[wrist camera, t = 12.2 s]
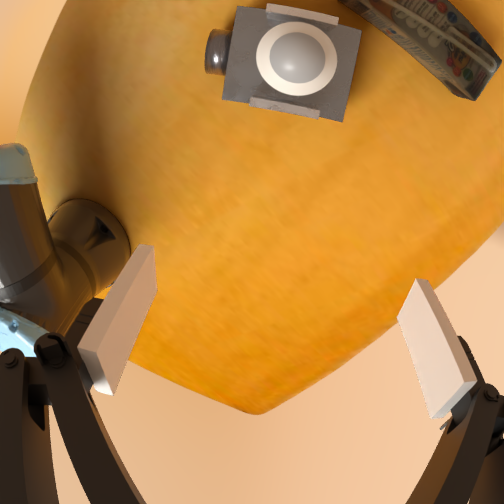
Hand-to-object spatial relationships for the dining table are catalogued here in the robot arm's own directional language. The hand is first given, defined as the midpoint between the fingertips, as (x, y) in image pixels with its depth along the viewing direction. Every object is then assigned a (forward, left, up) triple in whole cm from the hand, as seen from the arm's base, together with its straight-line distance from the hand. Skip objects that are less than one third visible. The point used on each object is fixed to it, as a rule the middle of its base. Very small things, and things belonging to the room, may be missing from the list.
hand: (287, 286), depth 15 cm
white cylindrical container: (-1, +11, -20) cm, 22 cm away
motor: (-2, +11, -26) cm, 28 cm away
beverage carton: (+12, +20, -26) cm, 35 cm away
